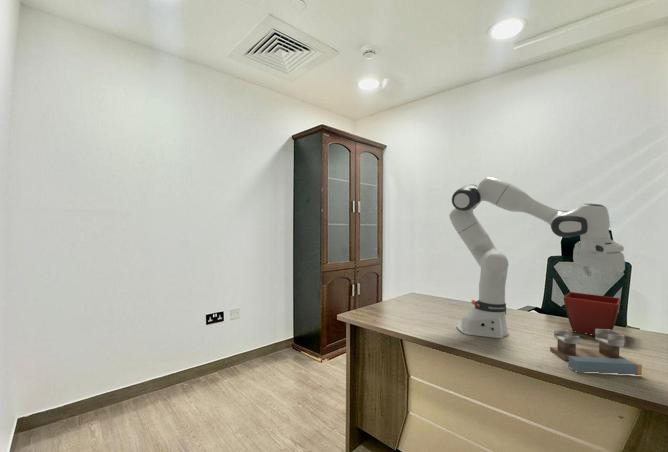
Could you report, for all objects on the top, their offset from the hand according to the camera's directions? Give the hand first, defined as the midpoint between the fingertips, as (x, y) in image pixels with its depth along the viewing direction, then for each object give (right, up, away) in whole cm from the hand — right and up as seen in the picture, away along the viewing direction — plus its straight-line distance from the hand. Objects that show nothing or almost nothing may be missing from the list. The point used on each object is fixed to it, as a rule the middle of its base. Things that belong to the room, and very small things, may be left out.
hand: (597, 279), depth 116 cm
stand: (-7, -29, -3) cm, 30 cm away
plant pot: (+20, -30, +25) cm, 44 cm away
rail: (-11, -29, -15) cm, 35 cm away
